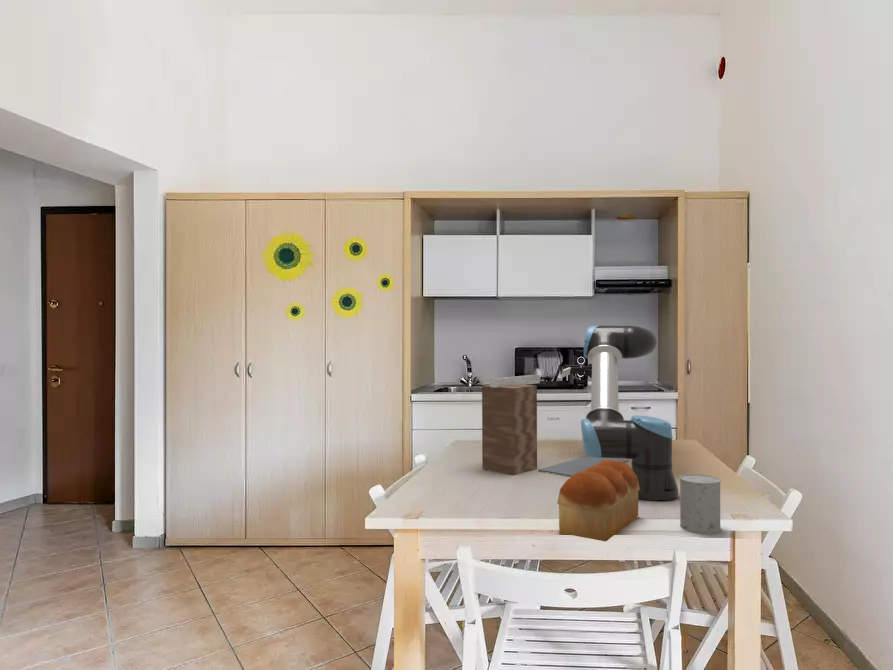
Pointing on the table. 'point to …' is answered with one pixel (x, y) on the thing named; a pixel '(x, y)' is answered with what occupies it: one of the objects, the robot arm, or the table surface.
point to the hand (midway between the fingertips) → (579, 378)
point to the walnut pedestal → (509, 429)
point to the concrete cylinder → (700, 503)
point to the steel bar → (514, 381)
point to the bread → (599, 501)
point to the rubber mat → (576, 465)
